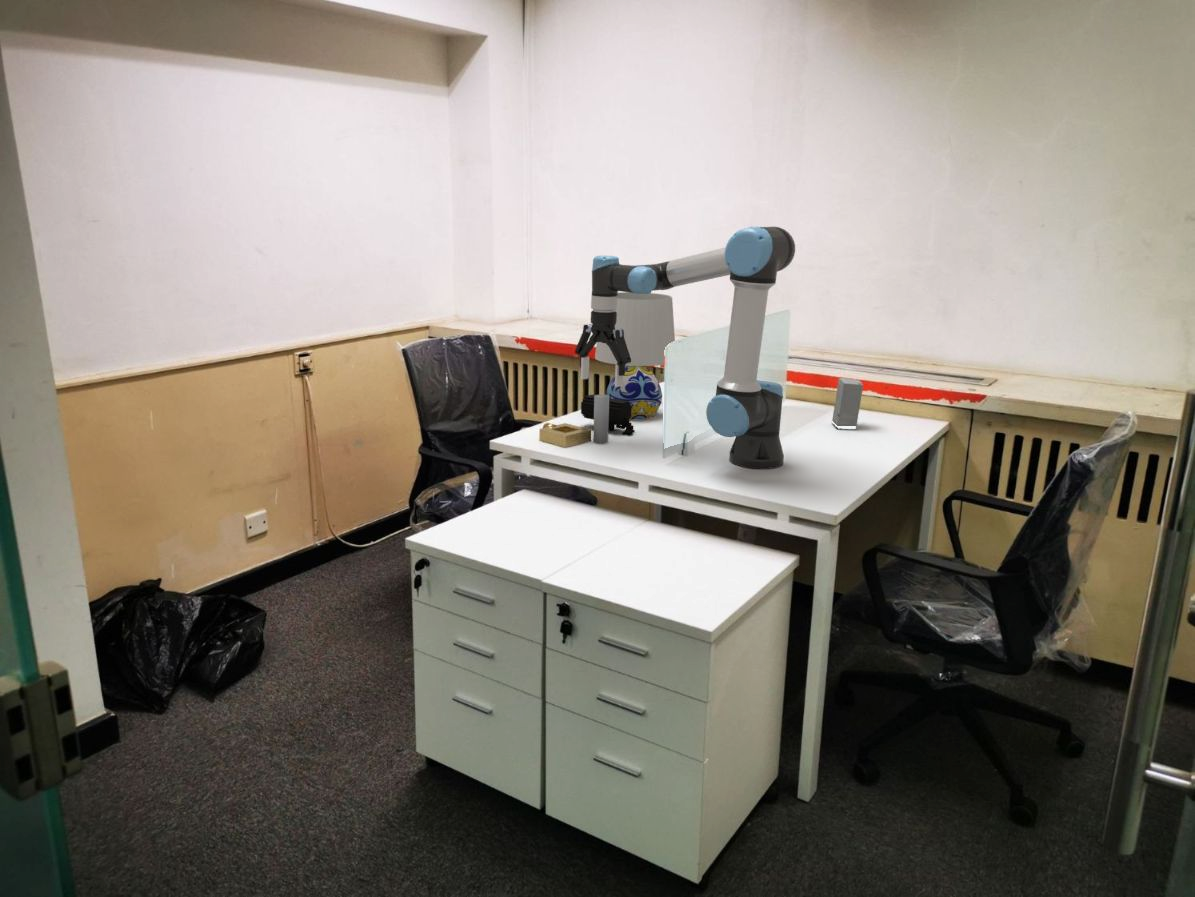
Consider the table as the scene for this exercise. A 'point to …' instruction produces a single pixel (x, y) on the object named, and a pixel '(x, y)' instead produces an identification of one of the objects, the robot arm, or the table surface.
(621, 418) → the security camera
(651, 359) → the table lamp
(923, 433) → the table surface
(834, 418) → the skincare box
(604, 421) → the grey rounded cylinder
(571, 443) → the gold square frame
